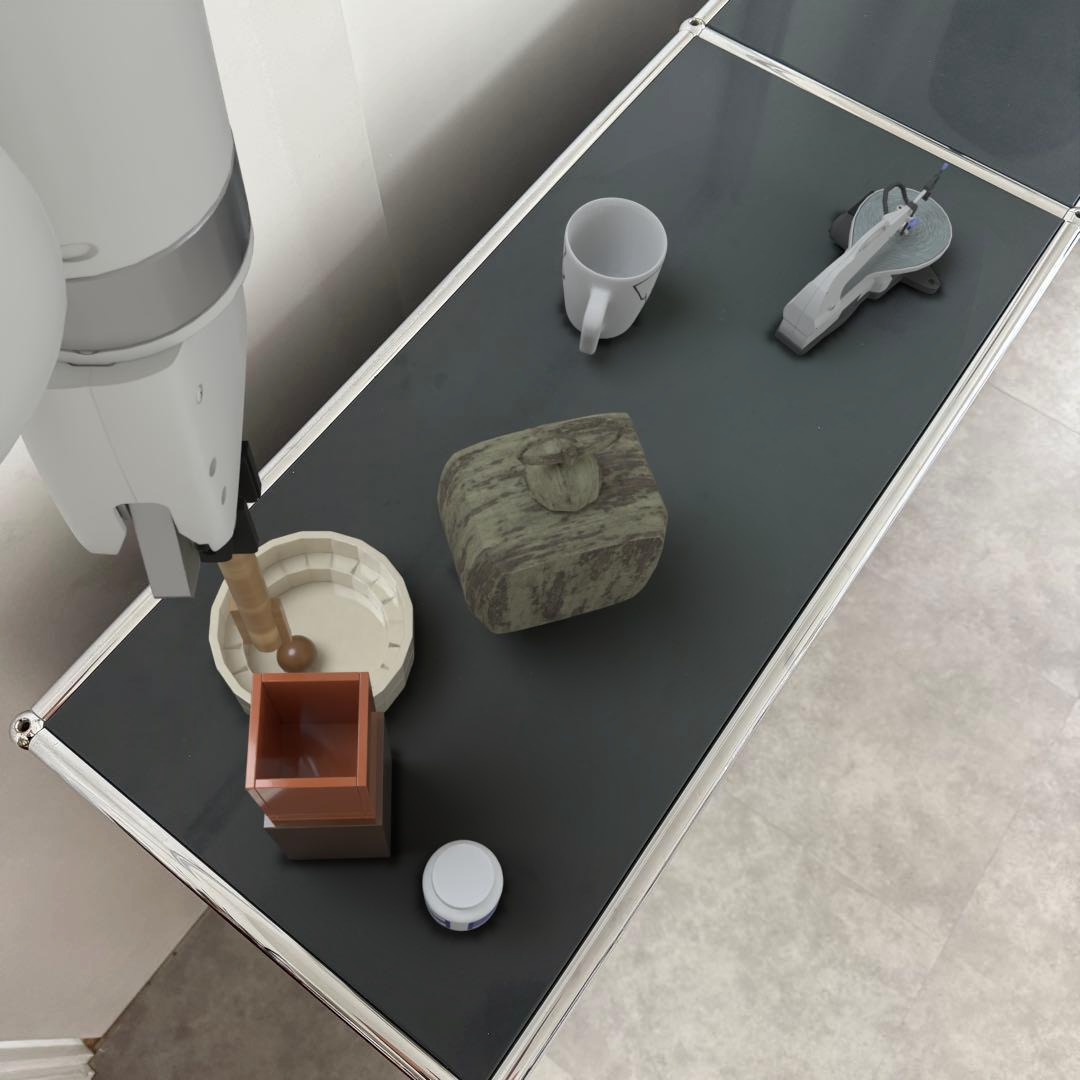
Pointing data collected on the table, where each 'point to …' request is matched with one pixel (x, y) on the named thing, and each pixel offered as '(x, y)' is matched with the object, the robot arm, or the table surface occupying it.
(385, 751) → the brown boxy piece
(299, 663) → the brown ball
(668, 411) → the table surface
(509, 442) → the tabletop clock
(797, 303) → the jigsaw machine
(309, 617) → the bowl
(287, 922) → the table surface
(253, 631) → the stirring stick
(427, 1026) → the table surface
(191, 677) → the table surface
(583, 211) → the mug
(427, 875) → the pill bottle
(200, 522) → the robot arm
